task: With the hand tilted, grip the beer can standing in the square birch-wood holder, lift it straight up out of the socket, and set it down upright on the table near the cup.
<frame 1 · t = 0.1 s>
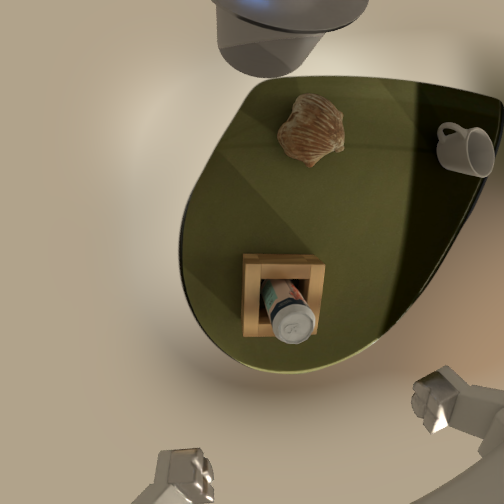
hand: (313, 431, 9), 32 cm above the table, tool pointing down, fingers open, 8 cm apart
cup: (442, 148, 39), on the table
seashell: (307, 133, 37), on the table
holder: (277, 288, 41), on the table
beer can: (276, 287, 42), resting in holder
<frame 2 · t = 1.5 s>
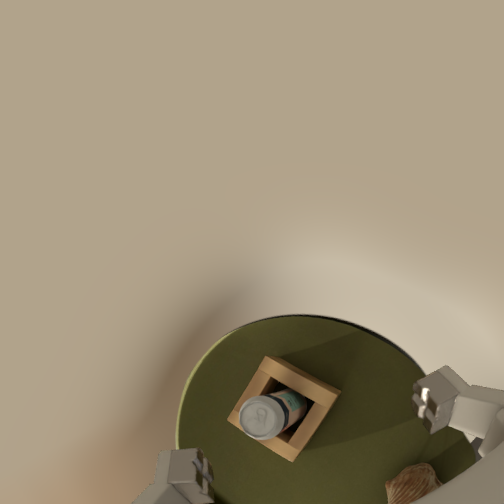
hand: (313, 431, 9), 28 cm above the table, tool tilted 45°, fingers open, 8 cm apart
seashell: (411, 487, 23), on the table
holder: (290, 405, 35), on the table
beer can: (290, 405, 35), resting in holder
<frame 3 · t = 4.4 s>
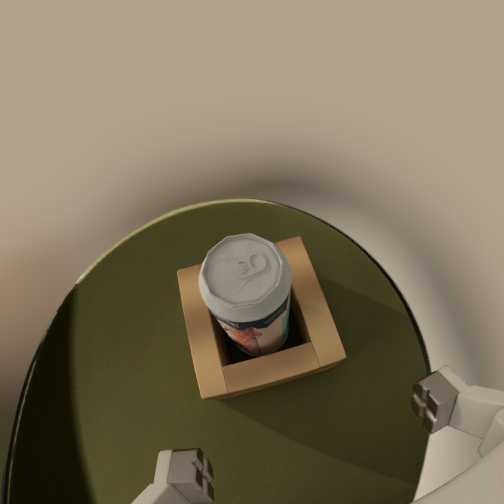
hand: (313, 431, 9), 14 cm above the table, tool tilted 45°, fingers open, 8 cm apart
holder: (260, 330, 24), on the table
beer can: (260, 331, 25), resting in holder
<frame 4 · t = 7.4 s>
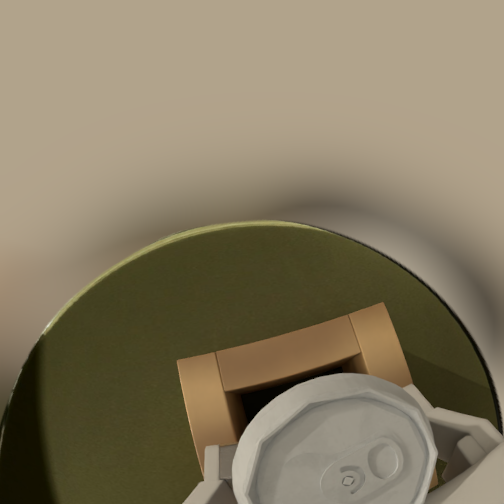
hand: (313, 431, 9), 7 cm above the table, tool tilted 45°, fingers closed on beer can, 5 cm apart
holder: (305, 429, 14), on the table
beer can: (305, 429, 14), resting in holder, touching gripper
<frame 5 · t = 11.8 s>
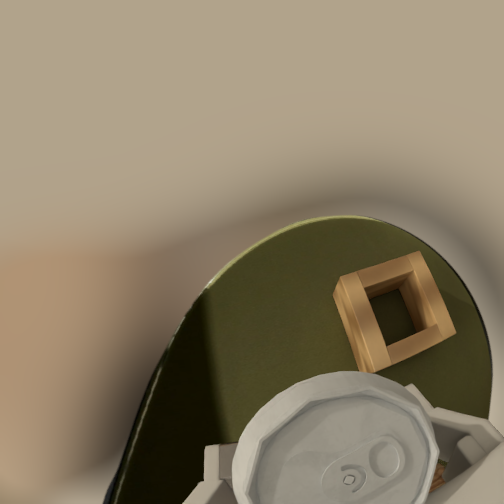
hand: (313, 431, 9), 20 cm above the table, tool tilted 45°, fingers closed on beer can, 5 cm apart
seashell: (409, 496, 19), on the table
holder: (386, 320, 30), on the table
beer can: (305, 428, 14), point 13 cm above the table, touching gripper
when the fingers open (7 cm above the table, at t = 16.5 s): beer can stays where it is, on the table.
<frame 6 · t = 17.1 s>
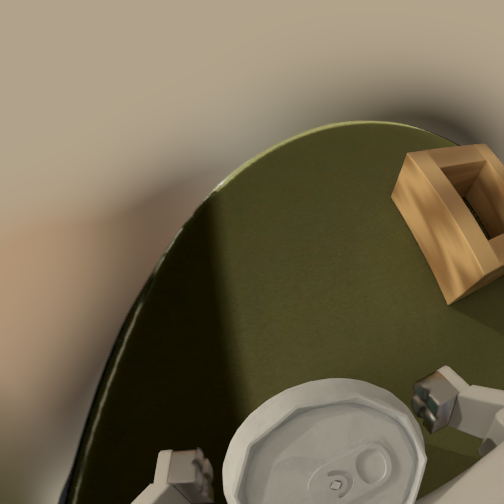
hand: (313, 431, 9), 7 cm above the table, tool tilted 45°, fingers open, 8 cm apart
holder: (461, 232, 19), on the table
beer can: (300, 430, 15), on the table
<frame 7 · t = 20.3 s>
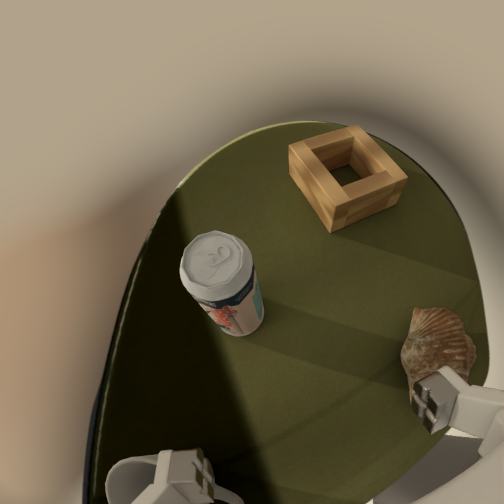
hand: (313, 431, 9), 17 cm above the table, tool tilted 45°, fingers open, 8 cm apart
cup: (198, 480, 21), on the table
seashell: (420, 359, 24), on the table
holder: (343, 187, 34), on the table
beer can: (240, 314, 28), on the table
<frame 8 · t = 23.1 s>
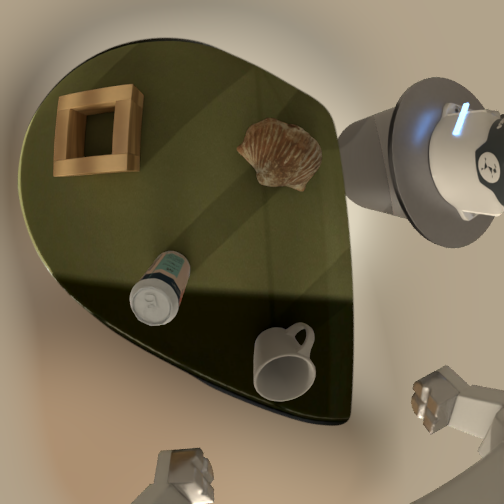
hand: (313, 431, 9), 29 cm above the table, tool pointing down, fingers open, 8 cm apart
cup: (278, 336, 41), on the table
seashell: (275, 157, 35), on the table
holder: (105, 135, 32), on the table
beer can: (172, 267, 37), on the table
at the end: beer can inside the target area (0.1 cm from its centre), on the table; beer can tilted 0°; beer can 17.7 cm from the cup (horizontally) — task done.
